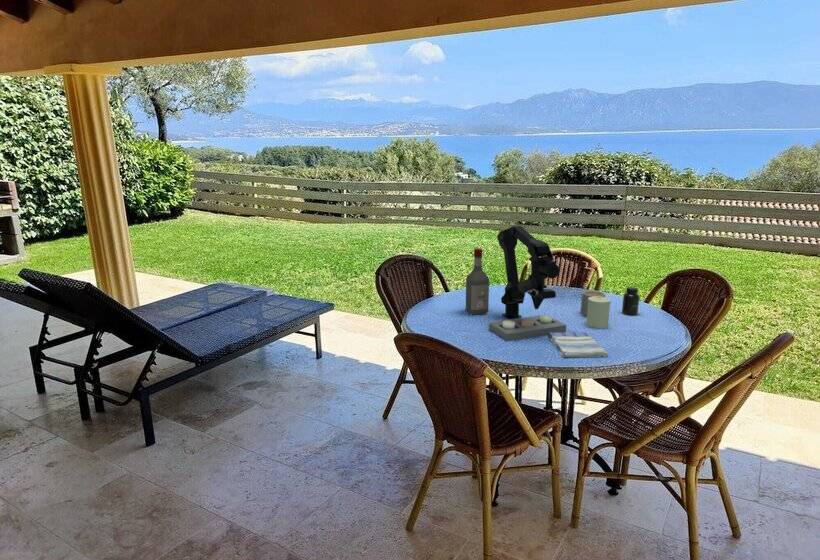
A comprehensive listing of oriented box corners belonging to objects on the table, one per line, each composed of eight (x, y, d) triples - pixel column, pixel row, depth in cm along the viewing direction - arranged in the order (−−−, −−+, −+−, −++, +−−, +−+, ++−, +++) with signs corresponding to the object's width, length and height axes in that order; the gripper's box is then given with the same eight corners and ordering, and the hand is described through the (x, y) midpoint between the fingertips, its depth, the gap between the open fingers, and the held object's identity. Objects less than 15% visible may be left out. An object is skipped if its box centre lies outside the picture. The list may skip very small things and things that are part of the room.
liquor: (490, 314, 244) (492, 250, 236) (472, 316, 241) (474, 252, 233) (480, 308, 252) (482, 246, 245) (463, 310, 249) (464, 248, 241)
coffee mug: (606, 317, 237) (607, 296, 234) (583, 317, 237) (585, 296, 235) (598, 308, 250) (599, 288, 247) (576, 308, 250) (578, 288, 248)
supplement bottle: (635, 316, 238) (637, 291, 235) (619, 313, 242) (622, 288, 239) (639, 312, 243) (642, 287, 240) (624, 310, 247) (626, 285, 244)
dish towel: (562, 359, 193) (563, 352, 192) (545, 337, 216) (546, 330, 215) (609, 359, 193) (610, 351, 193) (588, 336, 216) (588, 329, 215)
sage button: (537, 322, 226) (537, 316, 225) (547, 321, 228) (547, 314, 227) (543, 326, 221) (544, 319, 221) (553, 324, 223) (554, 318, 222)
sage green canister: (607, 322, 231) (609, 295, 228) (609, 329, 223) (611, 301, 220) (585, 320, 234) (587, 294, 231) (586, 327, 225) (588, 300, 222)
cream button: (500, 328, 220) (500, 321, 219) (510, 326, 221) (510, 319, 221) (506, 332, 215) (506, 325, 214) (517, 330, 217) (517, 323, 216)
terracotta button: (518, 327, 223) (519, 321, 222) (528, 326, 225) (529, 319, 224) (525, 331, 219) (525, 324, 218) (535, 330, 220) (535, 323, 219)
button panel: (488, 329, 224) (489, 322, 223) (545, 321, 233) (545, 314, 233) (507, 341, 210) (507, 334, 210) (565, 331, 220) (566, 325, 219)
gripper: (509, 269, 223) (508, 305, 227) (533, 280, 206) (531, 318, 210) (532, 267, 226) (530, 302, 230) (557, 277, 209) (555, 314, 213)
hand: (536, 309), depth 221 cm, fingers closed
